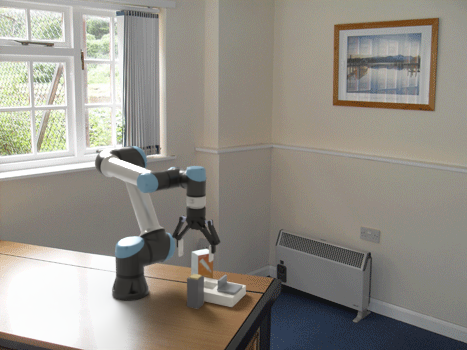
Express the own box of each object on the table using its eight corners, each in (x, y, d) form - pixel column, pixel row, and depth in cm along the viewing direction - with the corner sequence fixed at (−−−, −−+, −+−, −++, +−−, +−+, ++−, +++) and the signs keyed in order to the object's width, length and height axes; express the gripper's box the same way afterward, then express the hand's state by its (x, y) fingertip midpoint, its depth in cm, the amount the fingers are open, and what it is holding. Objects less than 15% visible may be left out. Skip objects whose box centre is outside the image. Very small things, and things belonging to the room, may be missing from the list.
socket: (188, 297, 221) (188, 288, 220) (203, 285, 234) (203, 276, 233) (232, 307, 213) (232, 298, 212) (245, 294, 226) (245, 285, 225)
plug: (186, 306, 213) (187, 277, 210) (192, 301, 217) (193, 272, 215) (197, 309, 211) (198, 279, 208) (203, 304, 215) (204, 274, 213)
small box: (197, 283, 236) (198, 255, 233) (190, 278, 241) (191, 251, 238) (213, 279, 240) (213, 252, 238) (206, 275, 245) (206, 248, 243)
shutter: (216, 290, 218) (217, 280, 217) (225, 283, 225) (225, 274, 225) (234, 294, 215) (234, 284, 214) (242, 287, 222) (242, 277, 221)
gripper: (163, 204, 207) (163, 256, 212) (220, 212, 198) (220, 266, 202) (173, 200, 214) (173, 250, 218) (229, 207, 204) (228, 260, 208)
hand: (195, 258), depth 210 cm, fingers open, 13 cm apart
